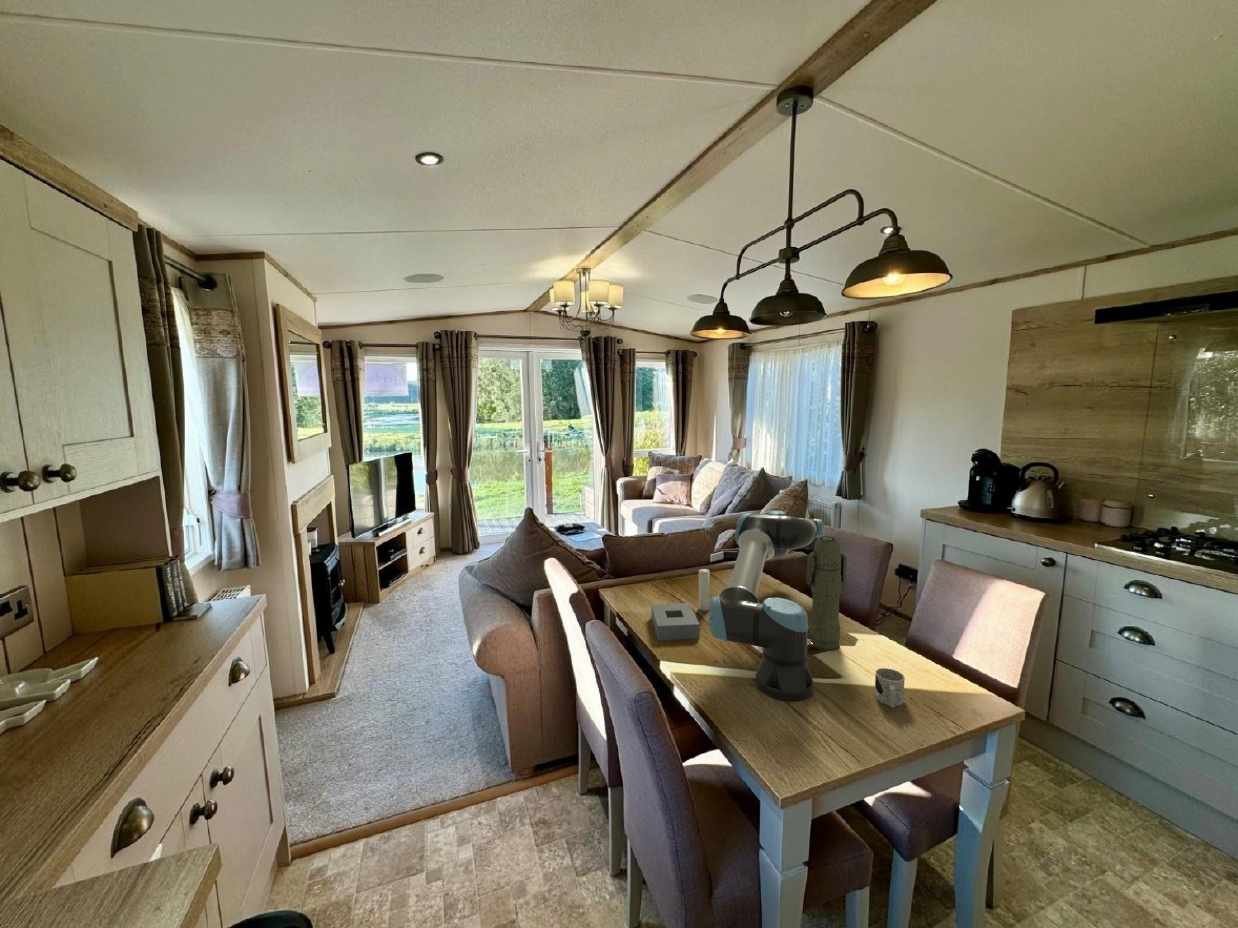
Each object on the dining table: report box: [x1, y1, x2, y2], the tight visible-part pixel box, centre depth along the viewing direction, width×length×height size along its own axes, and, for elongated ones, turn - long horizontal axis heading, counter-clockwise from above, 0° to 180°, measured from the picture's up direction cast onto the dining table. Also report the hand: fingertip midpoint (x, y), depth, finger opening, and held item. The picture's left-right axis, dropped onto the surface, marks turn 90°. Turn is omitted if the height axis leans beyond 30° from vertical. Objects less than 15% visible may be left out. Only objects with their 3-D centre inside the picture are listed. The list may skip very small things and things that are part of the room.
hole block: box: [650, 602, 701, 641], centre depth 175 cm, size 18×14×5 cm
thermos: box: [806, 535, 847, 652], centre depth 159 cm, size 9×12×35 cm
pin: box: [698, 568, 711, 612], centre depth 190 cm, size 4×4×15 cm
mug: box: [874, 667, 905, 709], centre depth 129 cm, size 10×7×7 cm
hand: (723, 562), depth 194 cm, fingers open, 13 cm apart
